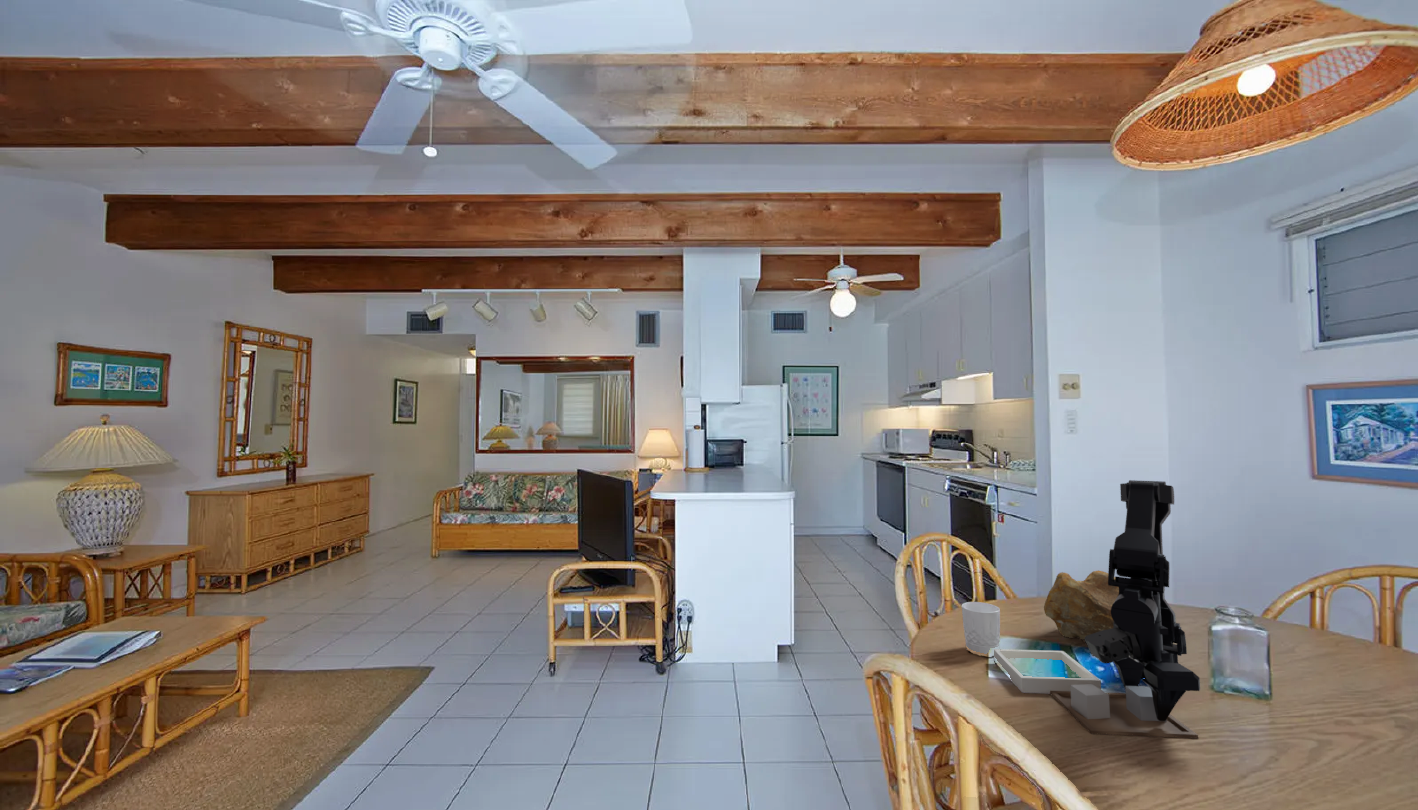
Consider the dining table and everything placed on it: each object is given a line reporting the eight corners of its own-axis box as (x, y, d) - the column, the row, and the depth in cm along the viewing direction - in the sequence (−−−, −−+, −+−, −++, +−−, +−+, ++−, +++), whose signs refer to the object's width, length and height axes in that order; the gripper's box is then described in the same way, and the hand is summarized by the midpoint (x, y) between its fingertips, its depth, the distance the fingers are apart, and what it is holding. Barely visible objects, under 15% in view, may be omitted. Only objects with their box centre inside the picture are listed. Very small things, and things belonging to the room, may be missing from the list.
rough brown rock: (1104, 663, 120) (1108, 595, 120) (1032, 632, 136) (1035, 571, 135) (1165, 647, 130) (1169, 584, 130) (1092, 620, 145) (1095, 563, 145)
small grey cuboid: (1093, 706, 100) (1091, 683, 100) (1110, 718, 96) (1108, 694, 96) (1071, 707, 100) (1070, 684, 100) (1087, 719, 96) (1086, 695, 96)
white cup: (998, 661, 121) (996, 614, 121) (959, 653, 126) (957, 608, 126) (1004, 649, 127) (1002, 605, 128) (967, 642, 132) (965, 599, 133)
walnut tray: (1142, 699, 103) (1142, 693, 103) (1198, 741, 89) (1198, 734, 89) (1050, 696, 105) (1050, 690, 105) (1091, 736, 91) (1090, 730, 91)
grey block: (1151, 709, 98) (1149, 686, 98) (1166, 721, 94) (1165, 697, 94) (1126, 708, 99) (1125, 685, 99) (1141, 720, 95) (1139, 696, 95)
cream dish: (1063, 666, 118) (1063, 650, 118) (1101, 697, 104) (1100, 680, 104) (994, 664, 120) (993, 649, 120) (1022, 695, 106) (1021, 677, 106)
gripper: (1064, 600, 108) (1068, 682, 107) (1123, 636, 89) (1128, 735, 88) (1126, 601, 106) (1131, 684, 105) (1199, 637, 88) (1206, 739, 87)
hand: (1145, 708), depth 97 cm, fingers open, 8 cm apart
